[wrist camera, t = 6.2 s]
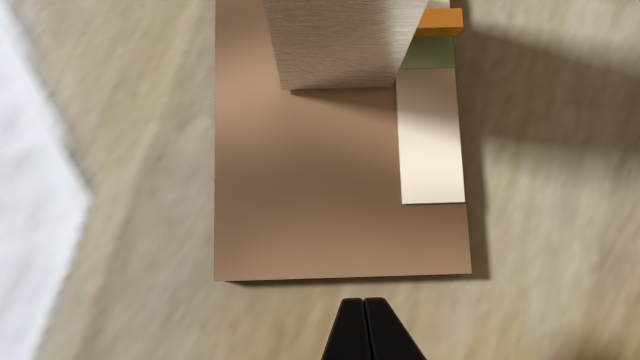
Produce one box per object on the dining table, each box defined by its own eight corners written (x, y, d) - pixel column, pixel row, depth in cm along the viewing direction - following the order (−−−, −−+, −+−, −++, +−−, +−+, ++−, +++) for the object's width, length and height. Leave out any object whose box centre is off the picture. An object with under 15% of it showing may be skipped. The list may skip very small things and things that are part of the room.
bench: (463, 272, 18) (535, 279, 12) (219, 280, 18) (170, 291, 12) (430, -154, 21) (476, -318, 15) (221, -149, 21) (182, -313, 15)
